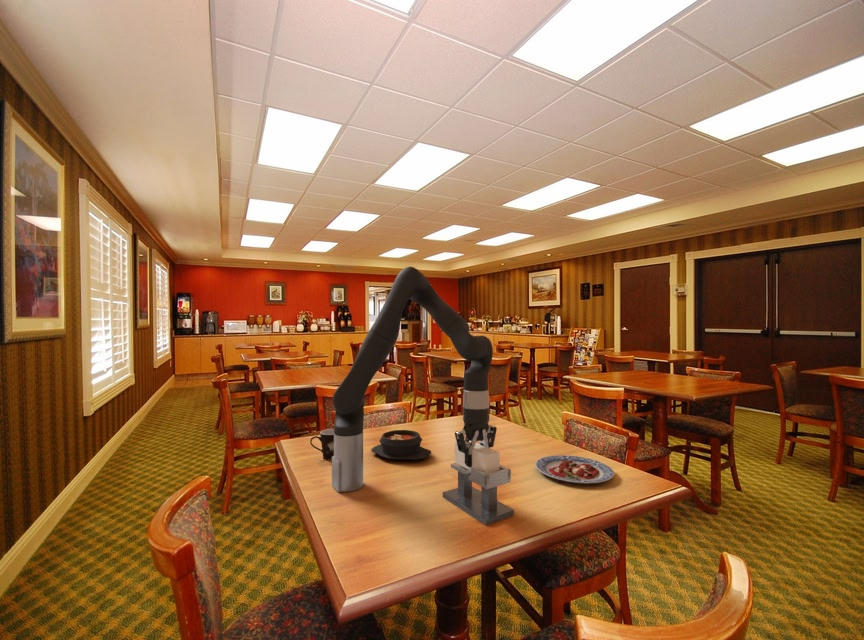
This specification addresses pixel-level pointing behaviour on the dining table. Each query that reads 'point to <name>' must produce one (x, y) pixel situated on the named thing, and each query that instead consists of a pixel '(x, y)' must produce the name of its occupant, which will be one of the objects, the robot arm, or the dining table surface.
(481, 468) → the white rectangular block
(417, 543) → the dining table surface
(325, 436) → the coffee mug
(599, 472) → the ceramic plate
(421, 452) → the casserole
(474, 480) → the stand
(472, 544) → the dining table surface
